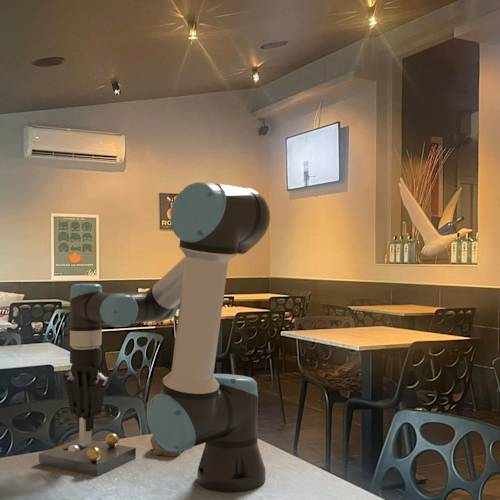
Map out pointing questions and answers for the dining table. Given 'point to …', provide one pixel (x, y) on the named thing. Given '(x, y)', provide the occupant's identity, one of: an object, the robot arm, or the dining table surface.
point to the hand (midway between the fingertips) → (85, 443)
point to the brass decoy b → (112, 439)
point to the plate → (80, 462)
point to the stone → (162, 449)
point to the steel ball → (73, 448)
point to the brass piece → (93, 454)
